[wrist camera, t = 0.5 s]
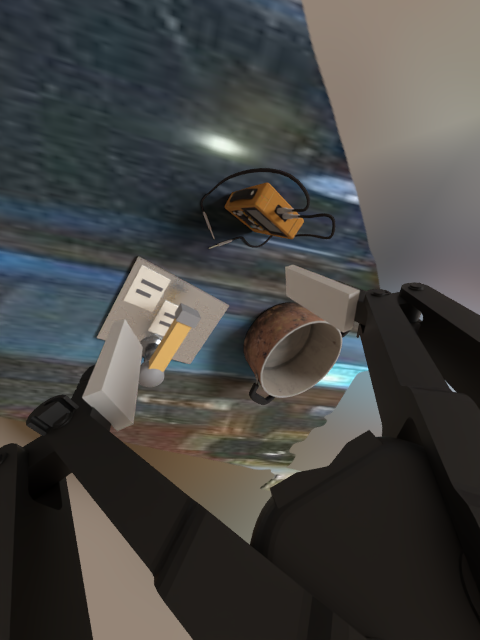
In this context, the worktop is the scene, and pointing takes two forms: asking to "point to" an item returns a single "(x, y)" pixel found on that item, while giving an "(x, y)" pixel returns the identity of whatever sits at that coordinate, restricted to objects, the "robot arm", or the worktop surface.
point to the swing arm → (168, 346)
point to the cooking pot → (290, 350)
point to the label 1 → (147, 289)
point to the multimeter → (266, 209)
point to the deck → (143, 318)
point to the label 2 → (163, 319)
